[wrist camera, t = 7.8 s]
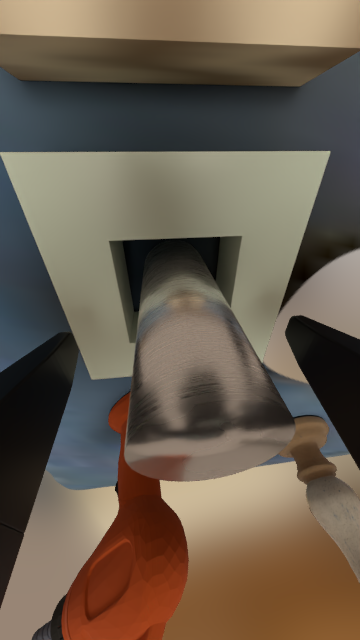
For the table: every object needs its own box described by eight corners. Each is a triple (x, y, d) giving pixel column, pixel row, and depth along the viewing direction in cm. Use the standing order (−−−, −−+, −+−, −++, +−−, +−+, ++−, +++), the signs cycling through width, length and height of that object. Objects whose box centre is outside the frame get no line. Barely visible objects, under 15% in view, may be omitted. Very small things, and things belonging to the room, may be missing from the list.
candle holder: (331, 409, 27) (600, 764, 11) (316, 439, 32) (483, 710, 16) (267, 421, 27) (436, 792, 11) (262, 449, 33) (372, 729, 16)
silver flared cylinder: (205, 238, 13) (324, 390, 4) (201, 295, 15) (271, 471, 6) (140, 241, 12) (106, 411, 4) (147, 298, 15) (136, 488, 6)
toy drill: (55, 469, 26) (-25, 731, 13) (140, 371, 20) (149, 653, 8) (91, 475, 28) (54, 705, 15) (178, 388, 23) (232, 629, 10)
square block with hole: (284, 156, 11) (330, 151, 8) (244, 334, 18) (261, 364, 15) (44, 158, 10) (-1, 152, 7) (102, 344, 17) (91, 379, 14)
